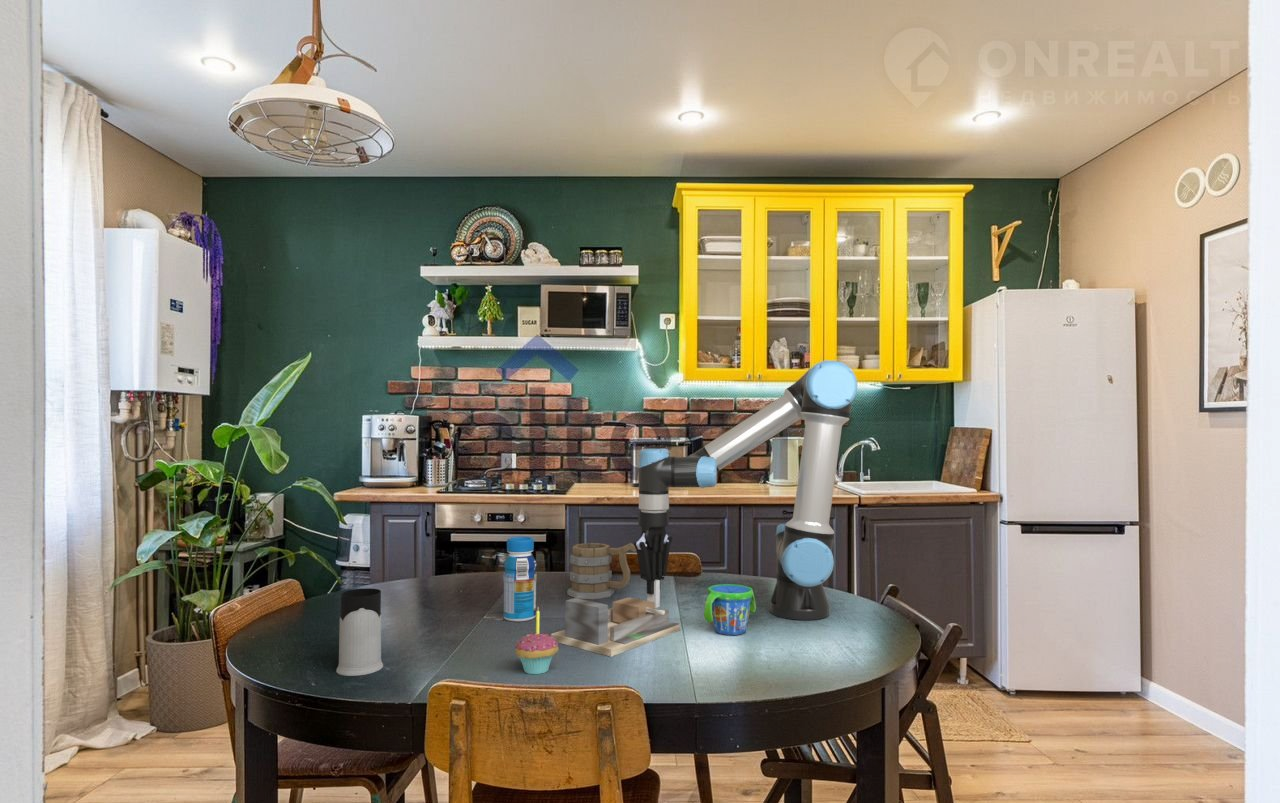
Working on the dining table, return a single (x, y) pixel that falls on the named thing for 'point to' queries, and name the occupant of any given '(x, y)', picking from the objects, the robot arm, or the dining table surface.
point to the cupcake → (536, 650)
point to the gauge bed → (609, 628)
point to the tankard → (596, 570)
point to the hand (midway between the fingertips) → (653, 606)
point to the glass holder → (360, 632)
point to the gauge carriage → (632, 609)
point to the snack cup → (729, 608)
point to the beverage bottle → (520, 580)
